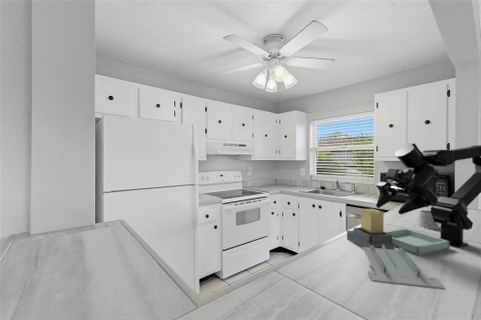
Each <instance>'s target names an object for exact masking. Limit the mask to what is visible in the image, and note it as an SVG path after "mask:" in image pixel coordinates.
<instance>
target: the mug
mask: <svg viewBox="0 0 481 320" xmlns="http://www.w3.org/2000/svg"><path fill="white" fill-rule="evenodd" d="M418 218H419V219H418V227H420V226H421V227H420V228H422V227H424V228H423V229H426V228H429V229H428V230H431V229H439V230H440V223H437V222H434V220H433V217H432V214H431V210H424V209H423V210H421V209H420V210H419V211H418Z"/></svg>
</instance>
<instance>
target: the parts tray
mask: <svg viewBox="0 0 481 320" xmlns="http://www.w3.org/2000/svg"><path fill="white" fill-rule="evenodd" d="M384 232H387V233H389V234H391V235H392V241H393V242H394V248H397V249H399V248H403V249H404V251H406V252H407V253H410V254H413V255H416V256H420V257H421V256H424V255H427V254H428V255H429V254H433V253H437V252H441V251H446V250H449V249H450V246H451V245H450V241H447V240H443V239H440V237H437V236H436V237H435V236H432V235H429V234H427V233H426V234H425V233H421V232H419V231H415V230H412V229H408V228H399V229H394V230H386V231H384Z"/></svg>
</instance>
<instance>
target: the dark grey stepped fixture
mask: <svg viewBox="0 0 481 320" xmlns="http://www.w3.org/2000/svg"><path fill="white" fill-rule="evenodd" d="M346 239H347V240H348V241H350V242H351V243H353V244H354V245H357V246H358V247H360V248H361V249H363V247H368V248H370V245H372V246H374V248H380V249H382V245H384V246H385V248H386V249H392V250H395V247H394V242H393V241H392V235H391V234H389V233H387V232H385V231H384V230H383V235H369V234H367V233H365V232H363V231H361V227H354V228H353V230H347V231H346ZM365 250H366V249H365Z"/></svg>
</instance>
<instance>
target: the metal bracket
mask: <svg viewBox="0 0 481 320" xmlns="http://www.w3.org/2000/svg"><path fill="white" fill-rule="evenodd" d="M365 249H366V250H365ZM362 250H363V252H364V254H365V255H366V257H367V259H368V261H369V262H370V265H371V267H372V268H373V270H374V271H371V270H370V271H369V270H368V271H367V275H368V277H369V279H370V281H372V283H380V284H392V285H394V284H395V285H404V286H412V287H420V288H421V287H422V288H428V289H435V290H443V291H445V290H446V288H445V286H444V284H443V283H442V282H441V281H440V280H439V279H438V278H437V277H430V276H427V275H426V274H425V273H424V272H423V271H422V269H420V266H418V265H417V263H416V262H415V260H413V258H412V257H411V256H410V254H409V252H408V251H405V250H404V249H403V248H398V249H394V250H392V249H386V248H385V246H384V245H382V249H380V248H374V246H372V245H370V248H368V247H363V248H362Z"/></svg>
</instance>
